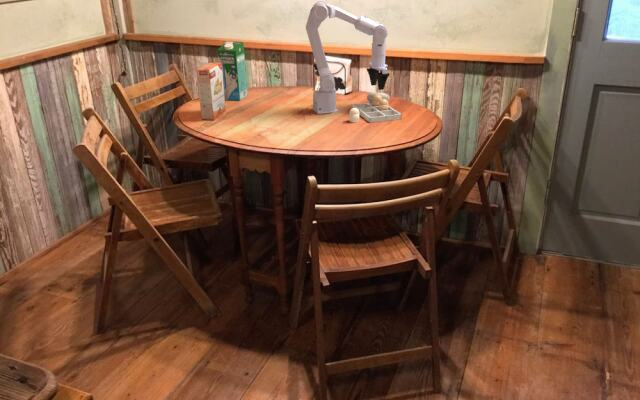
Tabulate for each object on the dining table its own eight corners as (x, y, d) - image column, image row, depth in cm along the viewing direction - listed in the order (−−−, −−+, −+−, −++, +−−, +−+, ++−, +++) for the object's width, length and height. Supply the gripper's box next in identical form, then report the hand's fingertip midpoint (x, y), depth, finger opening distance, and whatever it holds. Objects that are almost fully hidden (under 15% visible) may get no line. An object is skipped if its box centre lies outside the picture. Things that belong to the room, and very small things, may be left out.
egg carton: (369, 123, 217) (370, 117, 216) (351, 110, 235) (351, 104, 234) (401, 120, 221) (401, 114, 220) (381, 106, 238) (381, 101, 237)
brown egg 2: (380, 114, 226) (381, 100, 224) (376, 112, 230) (377, 98, 227) (389, 113, 227) (390, 99, 225) (385, 111, 231) (386, 97, 228)
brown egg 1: (374, 110, 232) (375, 98, 228) (370, 106, 235) (371, 93, 231) (383, 109, 233) (383, 96, 229) (379, 104, 236) (380, 92, 232)
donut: (393, 95, 240) (383, 91, 232) (393, 103, 240) (383, 99, 232) (373, 96, 246) (362, 92, 237) (373, 103, 246) (362, 100, 237)
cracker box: (214, 120, 225) (209, 69, 215) (201, 119, 226) (195, 69, 217) (226, 110, 237) (222, 62, 228) (213, 110, 238) (208, 61, 229)
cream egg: (351, 124, 217) (351, 109, 215) (347, 121, 221) (347, 107, 218) (360, 123, 218) (360, 108, 216) (357, 120, 222) (357, 106, 219)
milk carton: (221, 99, 253) (216, 44, 242) (230, 94, 260) (225, 41, 249) (239, 101, 250) (235, 45, 239) (247, 95, 258) (243, 41, 247)
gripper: (395, 57, 219) (393, 90, 225) (380, 50, 232) (378, 82, 238) (378, 58, 217) (377, 92, 223) (364, 52, 230) (364, 84, 236)
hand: (377, 87), depth 230 cm, fingers open, 7 cm apart
